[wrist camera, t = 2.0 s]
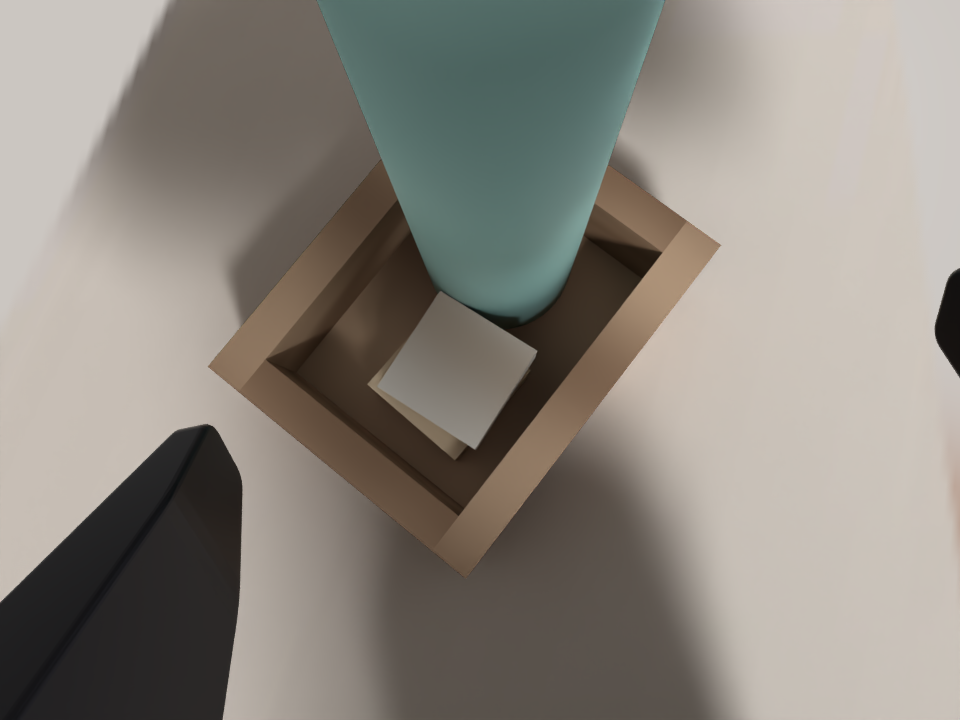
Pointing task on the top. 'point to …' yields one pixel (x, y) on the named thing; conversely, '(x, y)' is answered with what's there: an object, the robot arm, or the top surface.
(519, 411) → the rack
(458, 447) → the low offcut
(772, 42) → the top surface
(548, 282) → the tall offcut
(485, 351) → the low offcut
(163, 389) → the top surface
